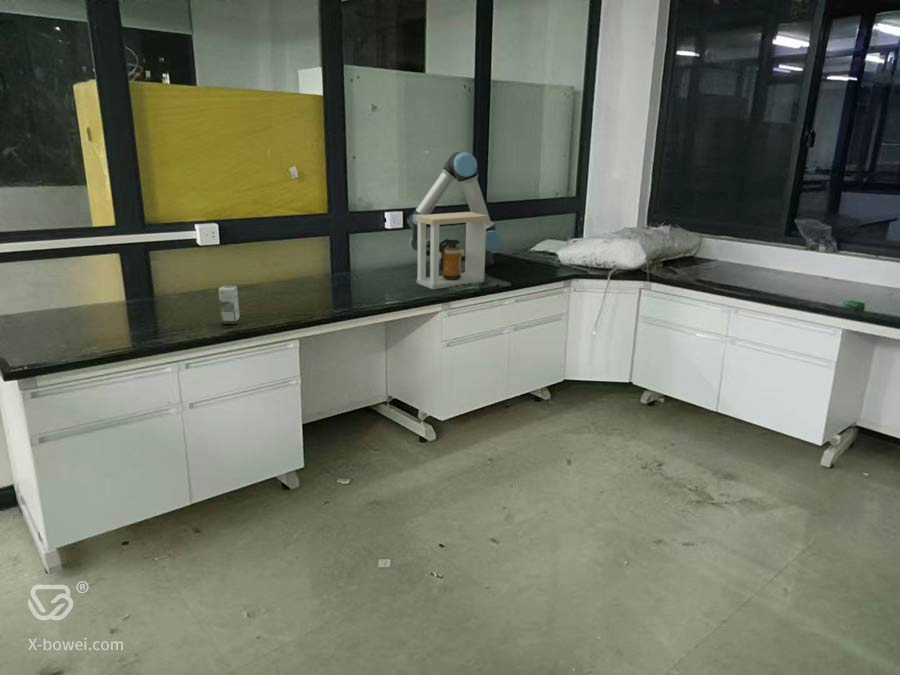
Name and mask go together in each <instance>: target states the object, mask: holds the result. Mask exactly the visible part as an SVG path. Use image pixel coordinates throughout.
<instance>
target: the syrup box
mask: <svg viewBox="0 0 900 675" xmlns="http://www.w3.org/2000/svg"><path fill="white" fill-rule="evenodd" d="M238 293H239V292H238V286H236V285H222V286H221V287H219V288H218V297H219V310H220V317H221V318H220V319H221V322H222V321H237V320H238V319H239V317H240V308H239V306H240V305H239V296H238ZM240 318H241V317H240Z"/></svg>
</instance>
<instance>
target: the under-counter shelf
mask: <svg viewBox="0 0 900 675" xmlns="http://www.w3.org/2000/svg"><path fill="white" fill-rule="evenodd" d="M415 221H418V251H417V278H416V284H418V285H421V286H422V287H423V286H424V287H426V288H429V289H431V290H438V289H443V288H444V289H445V288H451V287H450V286H452V287H455V286H454V285H459V286H462V285H461V284H466V285H469V284H468V283H473V284H476V283H475V282H480V283H485V271H486V270H485V268H486V266H485V243H486V221H488V216H487V215H482V214H478V213H473V212H471V211H462V212H461V211H460V212H459V211H458V212H446V213H434V214H433V213H430V214H429V215H416V216H415ZM463 223H465V252H464V256H465V258H464V259H465V260H464V262H465V263H464V264H465V265H464V272H461V278H459V279H457V280H447V279H445V278H443V275H440V272H439V271H440V270H439V268H440V258H439V243H440V225H451V224H452V225H453V224H463ZM426 224H427V225H430V239H429V240H430V255H429V257H430V258H429V260H430V262H429V263H430V264H429V277H428V276H427V270H426V269H427V266H426V265H427V256H426Z"/></svg>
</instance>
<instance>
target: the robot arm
mask: <svg viewBox="0 0 900 675" xmlns="http://www.w3.org/2000/svg"><path fill="white" fill-rule="evenodd" d="M477 168H478V162H477V159H476V158H475V156H474V155H472V153H469V152H466V151H465V152H463V151H455V152H454V153H452V154H451V155H450V156H449V158H448V159H447V161H446V162H445V164H444V165H443V167H442V168H441V173H440V174H439V175H438V177H437V178H436V180H435V181H434V182H433V184H432V185H431V187H430V188H429V190H428V192H426V195H424V198H423V199H422V200H421V201H420V203H419V204H418V206H417V207H416V208H415V210H414V211H413V212H412V214H410V215H411V216H410V215H409V216H410V217H409V216H408V217H409V219H408V218H407V224H408V226H409V228H411V229H412V237H411V238H410V239H409V242H408V244H409V247H410V249H412V250H414V251H416V252H418V221H415V216H416V215H430V214H432V212H433V210H434V209H435V207H436V206H437V204H438V202H439V201H440V200H441V199H442V197H443V195H444V194H445V193H446V191H447V190H448V189H449V187H450V186H451V185H452V184H453V181H456V180H457V183H459V184H461V187H462V190H463V192H464V195H465V199H466V201H467V205H468V208H469V210H470V211H469V212H473V213H478V214H482V215H487V216H488V221H486V243H485V267H488V266H493V265H494V257H493V254H492V251H493V252H494V251H495V250H496V249H498V248H499V247H500V245H501V243H502V237H501V234H500V233H499V232H498V231H497V228H496V224H495V222H494V221H492V220H491V217H490V214H489V212H488V209H487V206H486V202H485V199H484V197H483V193H482V190H481V187H480V184H479V181H478V177H479V171H478V169H477ZM427 228H428V224H426V257H430V239H428V234H427V233H428V231H427V230H428V229H427ZM458 247H459V248H460V253H461V257H462V256H463V257H464V256H465V250H464V249H461V247H460V246H458ZM444 249H445V248H443V253H444ZM440 250H441V248H440V246H439V259H440V258H441V253H440Z"/></svg>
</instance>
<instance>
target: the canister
mask: <svg viewBox="0 0 900 675" xmlns="http://www.w3.org/2000/svg"><path fill="white" fill-rule="evenodd" d="M460 243H461V241H460V240H459V239H458V238H457V239H448V238H446V239H444V240H443V241H441V242H439V246H440V248H441V250H440V253H441V258H439V271H441V272H442V276H443V278H445V279H447V280H457V279H459V278H461V273H462V255H461V253H460V249H461V247H460V246H458V245H459V244H460ZM459 247H460V248H459ZM443 248H445V249H444V253H443Z"/></svg>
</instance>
